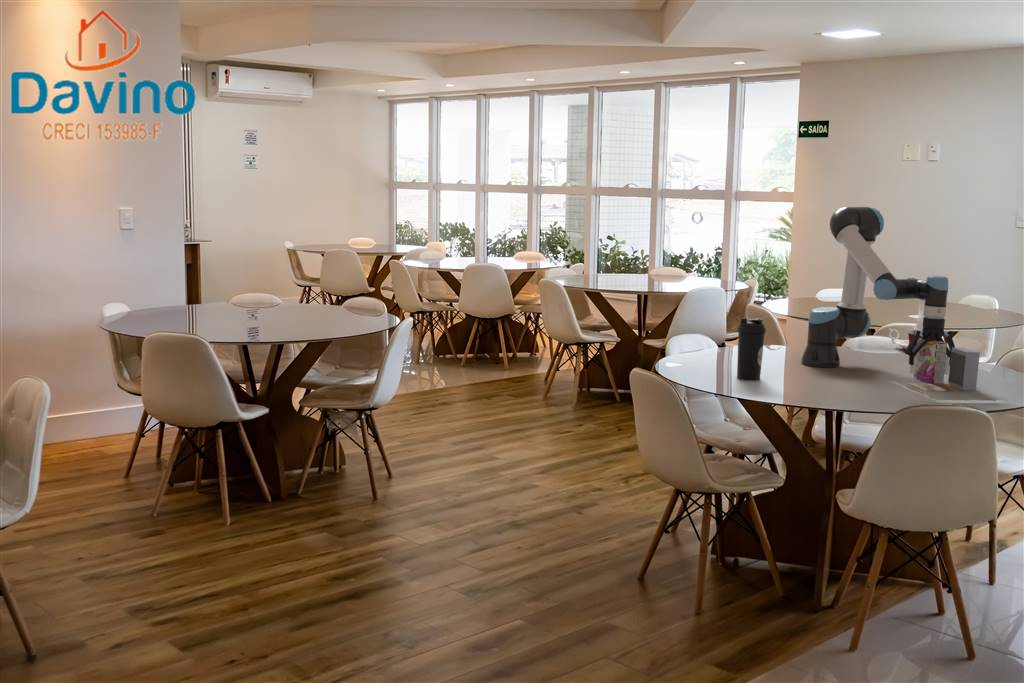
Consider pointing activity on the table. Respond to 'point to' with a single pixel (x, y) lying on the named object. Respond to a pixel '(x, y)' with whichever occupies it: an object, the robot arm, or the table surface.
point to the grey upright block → (963, 368)
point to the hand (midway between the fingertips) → (929, 373)
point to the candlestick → (918, 327)
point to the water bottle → (750, 349)
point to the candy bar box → (931, 362)
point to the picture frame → (935, 387)
